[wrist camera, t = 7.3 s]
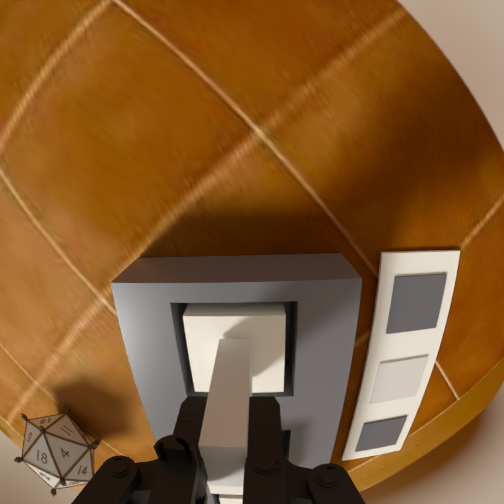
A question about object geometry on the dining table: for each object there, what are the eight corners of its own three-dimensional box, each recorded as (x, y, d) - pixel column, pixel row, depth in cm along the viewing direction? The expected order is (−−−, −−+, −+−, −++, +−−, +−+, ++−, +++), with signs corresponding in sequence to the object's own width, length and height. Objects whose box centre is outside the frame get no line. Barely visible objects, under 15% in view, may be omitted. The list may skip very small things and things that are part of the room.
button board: (138, 257, 18) (110, 282, 14) (341, 252, 18) (362, 278, 14) (195, 489, 26) (190, 518, 22) (308, 489, 25) (312, 519, 21)
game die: (95, 394, 26) (113, 448, 18) (98, 457, 26) (119, 517, 17) (14, 385, 22) (1, 439, 13) (24, 451, 21) (23, 512, 13)
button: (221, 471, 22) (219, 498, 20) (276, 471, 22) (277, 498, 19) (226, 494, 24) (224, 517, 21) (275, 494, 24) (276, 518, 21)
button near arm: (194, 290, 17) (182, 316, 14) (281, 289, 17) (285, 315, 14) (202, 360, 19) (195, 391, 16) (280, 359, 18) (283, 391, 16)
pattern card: (380, 252, 18) (383, 254, 17) (457, 249, 18) (461, 252, 17) (341, 458, 23) (342, 462, 23) (399, 447, 23) (400, 451, 23)
